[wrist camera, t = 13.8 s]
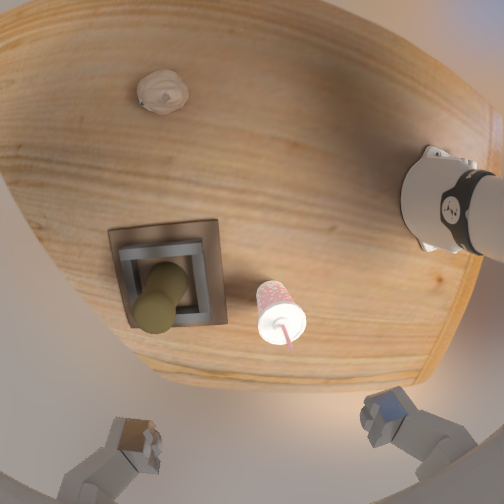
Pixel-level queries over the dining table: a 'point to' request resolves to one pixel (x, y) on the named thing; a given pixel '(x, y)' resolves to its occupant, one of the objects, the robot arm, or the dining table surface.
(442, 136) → the dining table surface
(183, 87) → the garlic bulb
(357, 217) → the dining table surface
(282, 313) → the beverage cup
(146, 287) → the olive pawn peg
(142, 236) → the socket base
